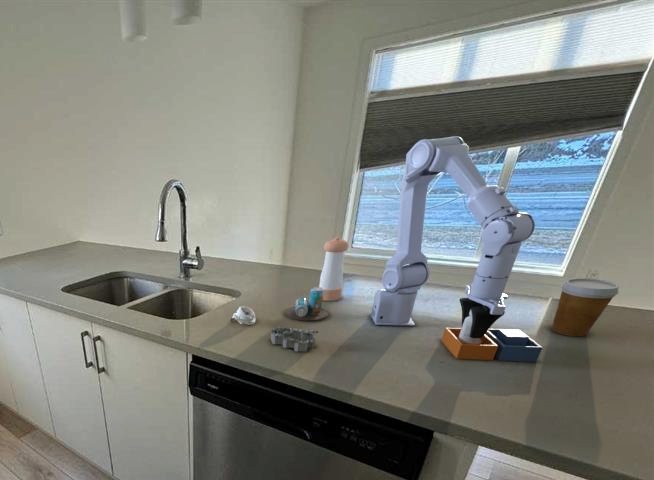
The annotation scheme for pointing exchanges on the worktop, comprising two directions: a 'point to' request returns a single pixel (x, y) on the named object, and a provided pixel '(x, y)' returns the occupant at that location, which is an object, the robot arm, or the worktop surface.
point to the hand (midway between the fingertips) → (471, 333)
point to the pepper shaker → (333, 269)
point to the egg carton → (294, 338)
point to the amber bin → (468, 346)
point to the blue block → (512, 337)
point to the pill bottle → (468, 332)
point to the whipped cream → (244, 315)
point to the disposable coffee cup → (582, 305)
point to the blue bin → (514, 349)
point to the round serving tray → (309, 307)
